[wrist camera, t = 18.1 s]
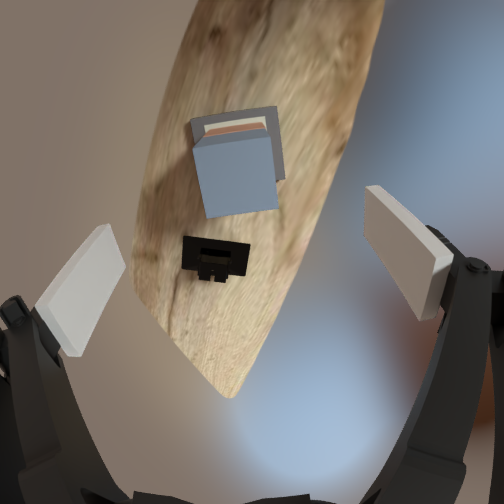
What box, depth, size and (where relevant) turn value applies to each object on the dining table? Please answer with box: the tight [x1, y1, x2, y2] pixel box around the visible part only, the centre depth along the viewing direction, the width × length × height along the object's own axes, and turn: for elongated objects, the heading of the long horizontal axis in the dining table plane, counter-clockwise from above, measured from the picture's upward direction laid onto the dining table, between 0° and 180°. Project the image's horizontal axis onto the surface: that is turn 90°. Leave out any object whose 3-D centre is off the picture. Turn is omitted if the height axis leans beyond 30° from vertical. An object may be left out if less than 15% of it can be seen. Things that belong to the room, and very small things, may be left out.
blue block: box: [192, 128, 279, 219], centre depth 25 cm, size 6×6×6 cm
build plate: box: [181, 236, 250, 283], centre depth 41 cm, size 12×7×5 cm, turn 81°
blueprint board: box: [190, 106, 285, 180], centre depth 34 cm, size 10×9×2 cm
